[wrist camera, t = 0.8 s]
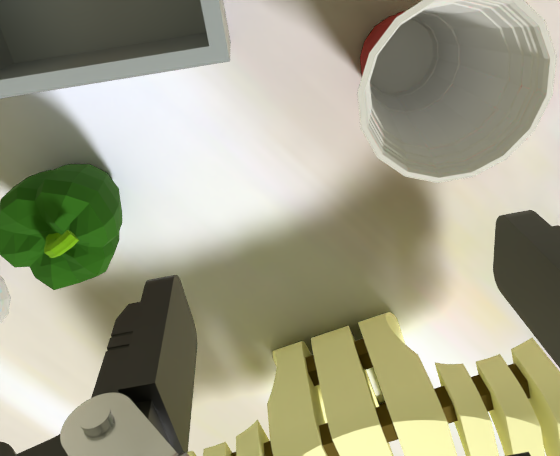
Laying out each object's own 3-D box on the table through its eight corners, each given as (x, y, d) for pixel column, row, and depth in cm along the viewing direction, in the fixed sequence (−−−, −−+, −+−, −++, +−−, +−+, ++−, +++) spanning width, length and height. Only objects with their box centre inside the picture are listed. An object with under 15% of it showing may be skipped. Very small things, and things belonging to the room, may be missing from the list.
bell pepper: (58, 252, 43) (14, 326, 34) (10, 165, 39) (-55, 224, 30) (152, 226, 42) (130, 295, 34) (112, 136, 39) (76, 188, 30)
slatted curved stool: (474, 265, 47) (594, 416, 31) (497, 379, 55) (603, 546, 39) (183, 364, 50) (160, 547, 34) (242, 459, 57) (246, 646, 42)
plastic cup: (294, 57, 37) (318, 95, 26) (409, -59, 34) (489, -70, 23) (383, 155, 41) (435, 221, 31) (492, 58, 38) (592, 95, 28)
